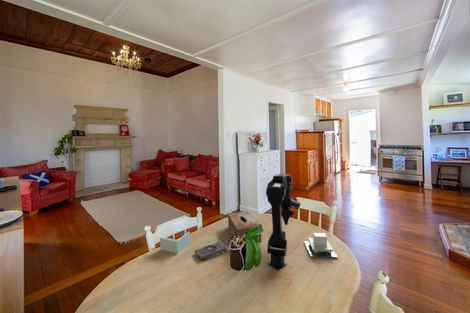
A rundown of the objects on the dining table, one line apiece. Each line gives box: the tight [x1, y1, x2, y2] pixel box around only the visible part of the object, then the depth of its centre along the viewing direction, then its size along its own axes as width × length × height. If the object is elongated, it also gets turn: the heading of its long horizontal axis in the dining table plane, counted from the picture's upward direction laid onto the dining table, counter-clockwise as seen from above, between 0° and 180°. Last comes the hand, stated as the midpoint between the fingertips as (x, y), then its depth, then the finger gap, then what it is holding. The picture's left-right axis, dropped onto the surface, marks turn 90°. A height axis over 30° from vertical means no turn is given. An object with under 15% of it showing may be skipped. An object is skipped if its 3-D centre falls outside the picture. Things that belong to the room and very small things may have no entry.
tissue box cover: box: [227, 210, 262, 243], centre depth 138 cm, size 26×14×10 cm, turn 14°
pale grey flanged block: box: [307, 232, 334, 252], centre depth 115 cm, size 12×10×6 cm
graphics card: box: [194, 238, 230, 260], centre depth 118 cm, size 17×4×12 cm
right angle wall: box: [159, 231, 192, 255], centre depth 125 cm, size 12×12×8 cm
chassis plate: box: [304, 241, 338, 260], centre depth 116 cm, size 15×13×3 cm
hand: (285, 221), depth 125 cm, fingers open, 9 cm apart
